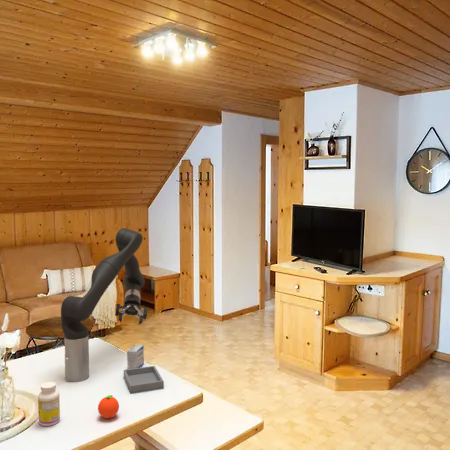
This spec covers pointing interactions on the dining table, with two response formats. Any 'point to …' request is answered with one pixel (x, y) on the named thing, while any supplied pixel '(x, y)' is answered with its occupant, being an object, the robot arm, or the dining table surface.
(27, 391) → the dining table surface
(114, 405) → the clementine
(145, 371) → the tray
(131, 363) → the medicine box
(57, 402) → the supplement bottle
